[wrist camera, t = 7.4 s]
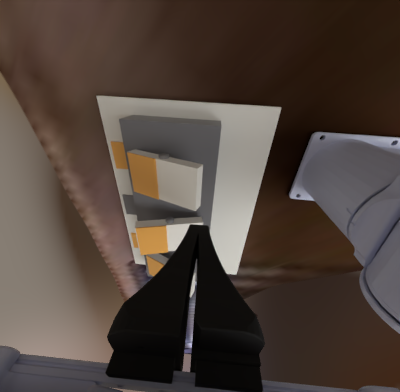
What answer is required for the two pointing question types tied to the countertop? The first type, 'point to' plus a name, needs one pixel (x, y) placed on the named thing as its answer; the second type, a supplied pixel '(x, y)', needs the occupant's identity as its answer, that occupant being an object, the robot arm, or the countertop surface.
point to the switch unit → (198, 153)
